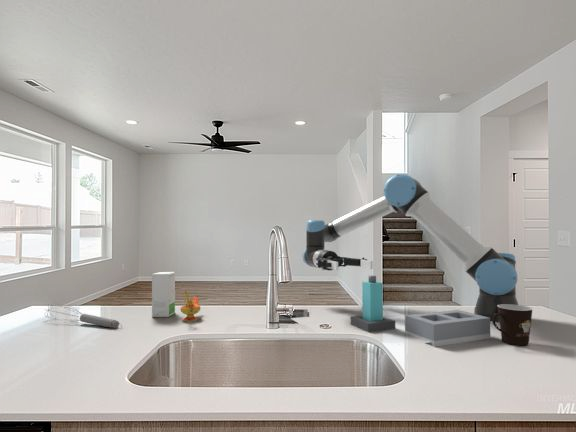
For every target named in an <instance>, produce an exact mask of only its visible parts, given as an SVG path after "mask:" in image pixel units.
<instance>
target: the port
mask: <svg viewBox="0 0 576 432" xmlns="http://www.w3.org/2000/svg"><path fill="white" fill-rule="evenodd" d="M404 328H405V329H404V332H405V334H410V335H411V336H414V337H416V338H419V339H422V340H424V341H427V342H425V344H426V345H429V346H431V347H433V348H434V347H440V346H449V345H453V344H454V345H456V344H462V343H469V342H470V343H471V342H476V341H484V340H489V339H491V320H490V318H488V317H484V316H481V315H477V314H474V312H473V313H472V312H468V311H466V310H465V311H464V310H461V309H454V310H453V309H452V310H444V311H442V310H441V311H435V312H424V313H414V314H405V315H404Z"/></svg>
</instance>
